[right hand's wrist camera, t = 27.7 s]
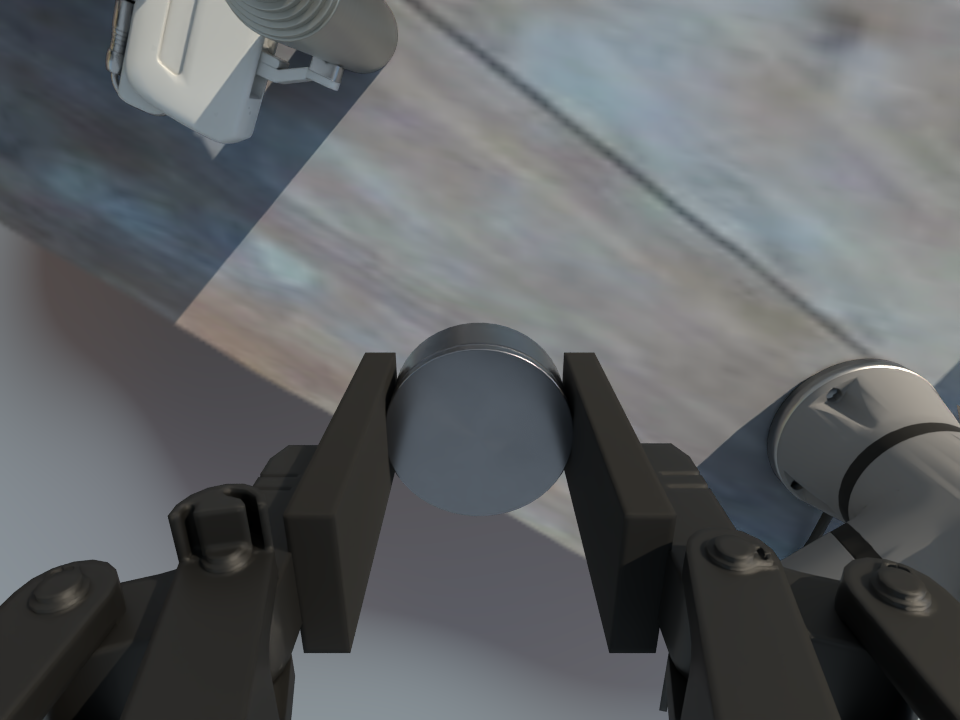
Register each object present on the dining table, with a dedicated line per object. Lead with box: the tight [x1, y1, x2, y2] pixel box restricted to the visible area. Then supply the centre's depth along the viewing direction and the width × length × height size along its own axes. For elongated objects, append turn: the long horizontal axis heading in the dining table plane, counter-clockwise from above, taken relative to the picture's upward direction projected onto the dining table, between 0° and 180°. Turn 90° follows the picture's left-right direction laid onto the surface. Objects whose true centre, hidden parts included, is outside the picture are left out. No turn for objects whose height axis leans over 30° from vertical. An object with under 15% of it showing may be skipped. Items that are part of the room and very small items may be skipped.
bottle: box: [225, 0, 398, 73], centre depth 30 cm, size 5×5×24 cm
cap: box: [386, 323, 573, 516], centre depth 14 cm, size 4×4×2 cm
